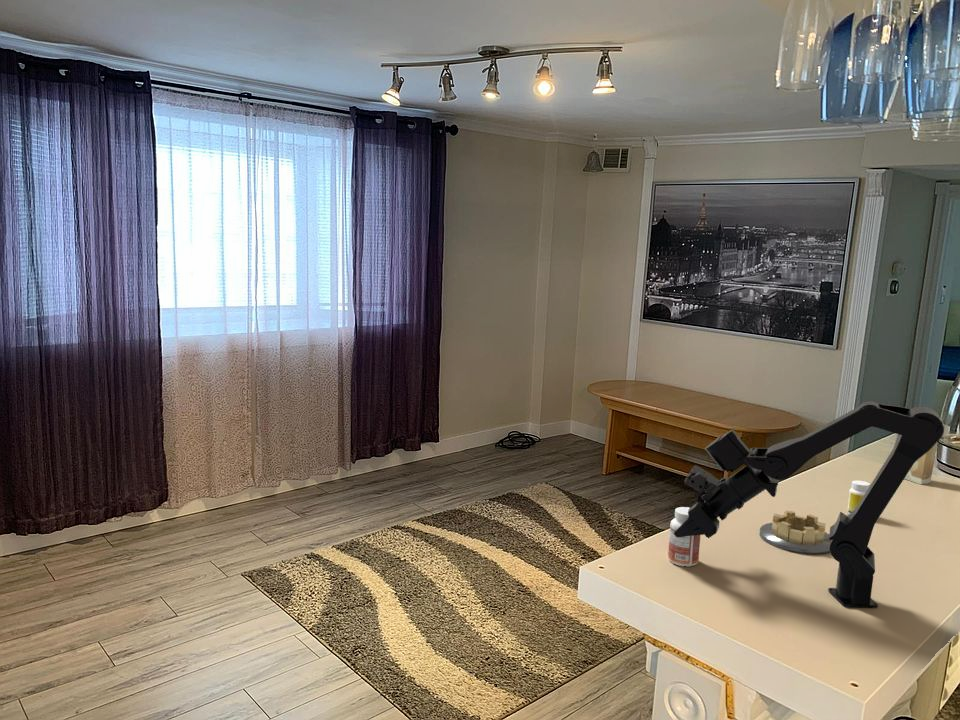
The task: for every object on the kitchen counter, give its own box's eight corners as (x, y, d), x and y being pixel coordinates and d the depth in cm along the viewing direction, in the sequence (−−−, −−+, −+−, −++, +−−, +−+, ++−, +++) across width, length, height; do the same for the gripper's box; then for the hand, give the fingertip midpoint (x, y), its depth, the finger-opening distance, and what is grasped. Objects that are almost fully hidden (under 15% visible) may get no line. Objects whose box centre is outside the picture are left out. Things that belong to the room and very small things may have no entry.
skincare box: (901, 478, 214) (906, 438, 212) (910, 476, 215) (916, 437, 213) (922, 485, 208) (928, 444, 206) (932, 483, 210) (937, 442, 208)
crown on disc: (849, 555, 157) (852, 534, 157) (776, 553, 157) (779, 532, 156) (815, 527, 173) (817, 507, 172) (748, 525, 173) (750, 506, 172)
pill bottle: (688, 553, 155) (692, 504, 154) (704, 566, 150) (708, 515, 148) (662, 556, 154) (666, 506, 152) (676, 568, 148) (681, 517, 146)
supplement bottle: (870, 519, 180) (874, 486, 178) (850, 517, 180) (853, 484, 179) (864, 512, 184) (868, 480, 183) (844, 510, 185) (848, 478, 184)
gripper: (719, 446, 154) (663, 486, 161) (703, 468, 138) (641, 512, 145) (754, 488, 152) (696, 527, 159) (742, 516, 136) (678, 558, 142)
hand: (678, 529), depth 151 cm, fingers closed on pill bottle, 6 cm apart
